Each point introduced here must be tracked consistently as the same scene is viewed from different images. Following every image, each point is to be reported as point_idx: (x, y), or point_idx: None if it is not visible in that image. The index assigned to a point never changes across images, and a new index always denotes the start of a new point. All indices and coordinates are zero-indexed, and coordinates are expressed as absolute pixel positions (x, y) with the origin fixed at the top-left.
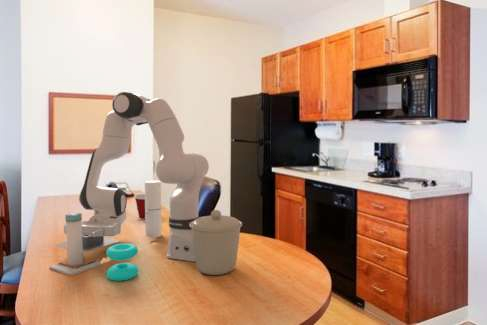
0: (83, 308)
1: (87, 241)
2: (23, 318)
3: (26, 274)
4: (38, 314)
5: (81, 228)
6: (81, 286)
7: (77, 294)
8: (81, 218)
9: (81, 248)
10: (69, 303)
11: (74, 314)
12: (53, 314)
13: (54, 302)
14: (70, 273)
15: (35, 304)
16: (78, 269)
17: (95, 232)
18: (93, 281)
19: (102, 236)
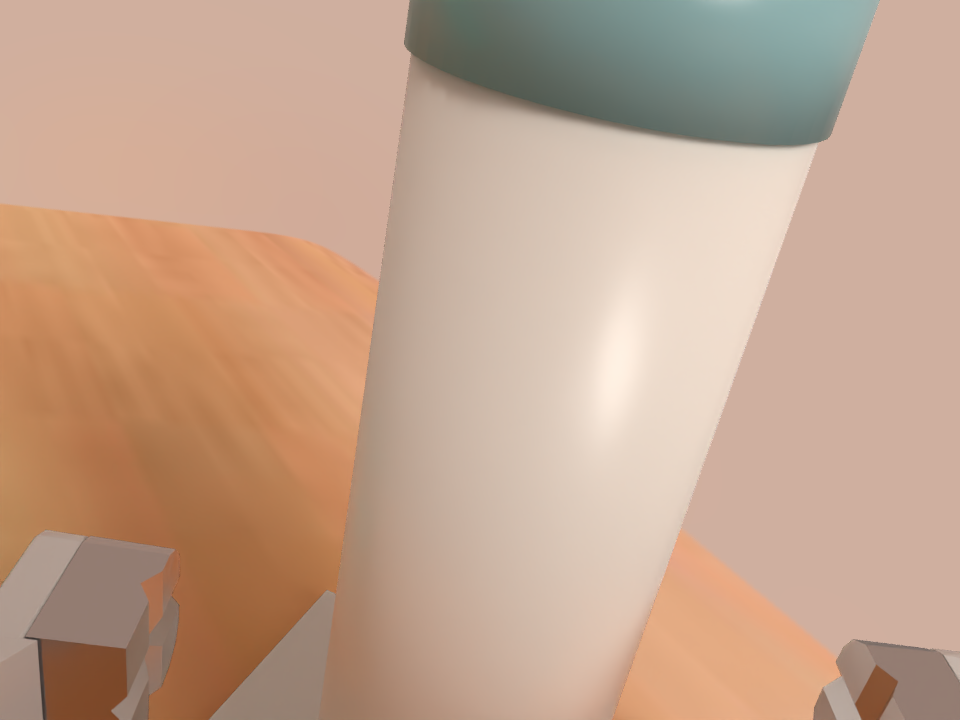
0: (26, 256)
1: None
2: (312, 244)
3: (823, 650)
4: (259, 253)
5: (382, 296)
6: (114, 432)
7: (110, 353)
8: (415, 6)
9: (328, 651)
10: (130, 292)
11: (66, 233)
12: (181, 245)
13: (231, 307)
14: (325, 591)
15: (334, 306)
16: (278, 691)
17: (15, 582)
18: (11, 497)
19: None
